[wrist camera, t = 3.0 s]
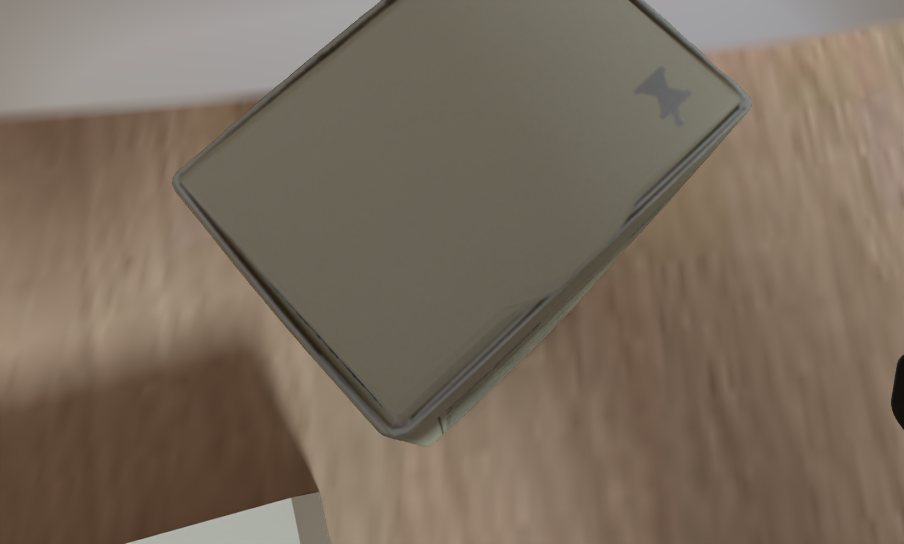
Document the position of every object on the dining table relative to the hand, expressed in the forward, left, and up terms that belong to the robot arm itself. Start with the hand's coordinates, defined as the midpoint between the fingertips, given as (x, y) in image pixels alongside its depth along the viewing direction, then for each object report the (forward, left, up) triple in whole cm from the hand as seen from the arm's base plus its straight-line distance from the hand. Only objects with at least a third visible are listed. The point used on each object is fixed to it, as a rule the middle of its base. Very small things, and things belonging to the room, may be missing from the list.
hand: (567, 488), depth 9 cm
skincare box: (0, -4, -11) cm, 12 cm away
